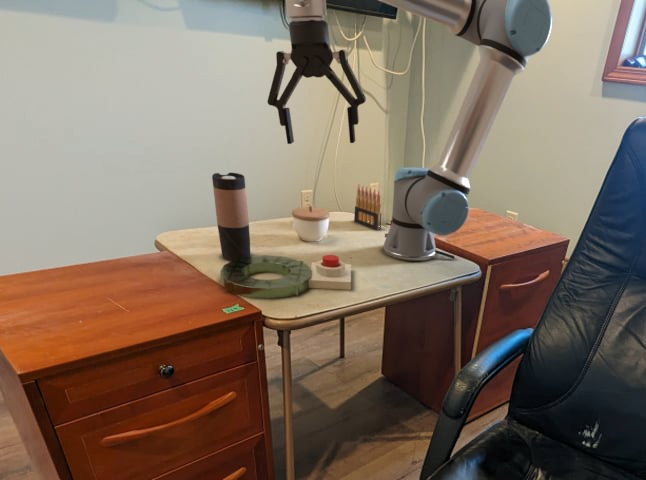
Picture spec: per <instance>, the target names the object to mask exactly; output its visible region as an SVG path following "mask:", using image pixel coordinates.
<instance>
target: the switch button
mask: <svg viewBox="0 0 646 480" xmlns="http://www.w3.org/2000/svg"><path fill="white" fill-rule="evenodd" d="M321 260H323V266H325V267H331V268H334V267H338V266H339V261H340V257H339V256H338V255H335V254H325V255H323V256H322V259H321Z"/></svg>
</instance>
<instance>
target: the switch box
mask: <svg viewBox="0 0 646 480" xmlns="http://www.w3.org/2000/svg"><path fill="white" fill-rule="evenodd" d="M310 265H311V266H310V269H311V270H312V274H311V279H309V288H308V289H325V290H327V289H328V290H344V291H345V290H347V291H350V290H351V288H352V287H351V286H352V283H351V282H352V263H351V264H348V263H345V262H343V261H341V260H339V266H338V267H334V268H331V267H325V266H323V259H319V260H318V261H316V262H314V261H312V262H311V264H310Z"/></svg>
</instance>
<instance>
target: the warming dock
mask: <svg viewBox="0 0 646 480" xmlns="http://www.w3.org/2000/svg"><path fill="white" fill-rule="evenodd" d="M219 273H220V274H219V276H220V279H221V280H220V282H221V283H222V285H223V287H224V289H225V290H226V293H233V294H235V295H237V296H243V297H248V298H250V299H251V298H252V299H269V300H270V299H272V300H273V299H280V298H289V297H292V296H299V294H301V293H304V292H305V291H306V290H308V289H310V288H309V279H311V274H312V270H311V267H310V266H309V265H308V264H307V263H305V261H304V260H298V259H295V258H290V257H286V256H279V255H266V254H265V255H264V254H263V255H252V256H249V257H244V258H242V257H239V258H238V259H236V260H233V261H228V262H227V263H225V264H223V266H222V267H221V269H220V271H219ZM258 273H276V274H281V275H284V277H280V278H273V279H259V278H255V277H250V276H251V275H254V274H258Z"/></svg>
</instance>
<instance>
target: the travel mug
mask: <svg viewBox="0 0 646 480" xmlns="http://www.w3.org/2000/svg"><path fill="white" fill-rule="evenodd" d="M211 179H212V180H211V181H212V187H213V197H214V207H215V215H216V216H215V217H216V225H217V231H218V237H219V238H218V239H219V244H220V250H221V256H222V258H223V259H224V261H225V260H226V261H228V262H231V261H233V260H236V259H238V258H239V257H242V258H244V257H249V256H251V255H252V254H251V238H250V237H251V236H250V221H249V220H250V219H249V209H248V200H247V199H248V198H247V188H246V179H245V175H243V174H241V173H238V172H228V173H227V174H221V173H219V172H215V173H213V174H212V175H211Z"/></svg>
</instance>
